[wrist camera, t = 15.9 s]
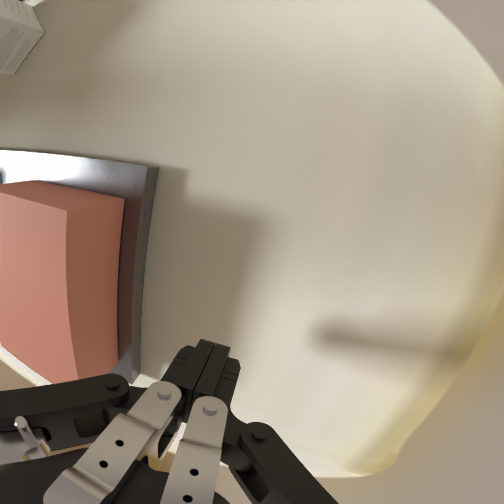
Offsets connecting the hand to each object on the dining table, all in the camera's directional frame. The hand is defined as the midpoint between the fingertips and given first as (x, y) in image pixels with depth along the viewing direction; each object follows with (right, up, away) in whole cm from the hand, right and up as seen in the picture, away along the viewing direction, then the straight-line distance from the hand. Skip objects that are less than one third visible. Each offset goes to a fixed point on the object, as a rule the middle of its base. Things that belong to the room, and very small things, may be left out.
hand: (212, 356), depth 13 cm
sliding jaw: (-11, +4, +4) cm, 12 cm away
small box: (-21, +27, +1) cm, 34 cm away
